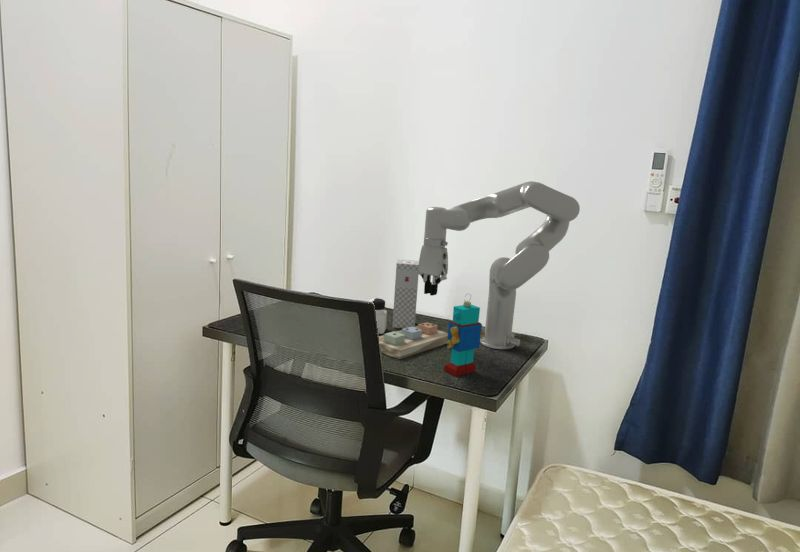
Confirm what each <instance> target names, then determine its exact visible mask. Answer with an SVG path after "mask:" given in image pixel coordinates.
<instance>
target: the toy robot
mask: <svg viewBox="0 0 800 552" xmlns="http://www.w3.org/2000/svg"><path fill="white" fill-rule="evenodd" d="M467 295H468V293H467V294H465V296H467ZM469 295H470V298H469V300H467V301H466V300H464V301H463V305H461V304H460V305H455V306H453V312H452V320H451V321H450V322H448V328H447V333H448V338H447V341H446V344H445V345H446V348H447V349H451V352H450V362H448V363H446V364H444V366H443V371H445V372H447V373H448V374H451V375H452V376H455V377H458V376H459V377H460V376H463V375H467V374H470V373H475V372H476V365H475V364H474V354H475V349H479V348H480V347H481V346H480V344H481V343H480V339H482V338H483V336H484V334H483V333H484V332H483V324H482V323H481V322H480V321H479V320H480V312H481V307H480V306H477V305H474V304H472V301H471V299H472V295H471V294H469Z"/></svg>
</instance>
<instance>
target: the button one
mask: <svg viewBox="0 0 800 552" xmlns="http://www.w3.org/2000/svg"><path fill="white" fill-rule="evenodd" d="M383 335H384V342H385V343H388V344H391V345H394V346H396V345H399V344H403V343H405V335H404V334H401V333H398V332H397V331H394V330H393V331H391V332H386V333H384V334H383Z"/></svg>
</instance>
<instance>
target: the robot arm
mask: <svg viewBox="0 0 800 552" xmlns="http://www.w3.org/2000/svg"><path fill="white" fill-rule="evenodd" d="M528 208H532V209H534V210H536V211H538V212H540V213H542V214H545V215H546V218H545V220H544V221H543V223H542V224H541V225H540V226H539V227H538V228H537V229H536V230H534V231H533V232H532V233H530V235H528V236H527V237H526V238H525V239H523V240H521V242H519V243H518V245H517V246H516V247H515V253H514V254H515V255H514V256H513V257H512V258H509V257H506V256H505V257H499V258H496V259H495V260H494V261H493V263H492V264H491V265H490V269H489V276H488V277H489V280H488V281H489V282H488V284H489V286H488V287H489V288H488V300H487V309H486V320H485V329H484V334H483V338H482V339H480V344H481V345H482V346H484V347H487V348H489V349H496V350H511V349H513V348H514V347H515V346H516V347H519V346H520V345H521V339H518V338H515V333H513V324H514V316H515V315H514V313H515V308H516V307H515V306H516V297H517V289H519V288H520V287H522V286H523V285H524V284H525V283H526V282H528V281H529V280H531V278H533V277H535V276H536V275H537V274H538V273H539V272H541V271H542V270H543V269H544V267H546V266H547V264H548V262H549V260H550V252H551V250H553V248H554V247H555V246H557V245H558V244H559V243H560V242H561V241H562V240H564V237H566V234H567V233H568V230H569V226H570V222H571V221H574V220H575V219H577V217H578V216H579V214H580V210H581V209H580V208H581V207H580V204H579V202H578V201H577V200H576V198H574V197H572V196H571V195H568V194H565V193H563V192H561V191H558V190H556V189H554V188H552V187H550V186H547V185H546V184H544V183H541V182H537V181H527V182H523V183H520V184H517V185H515V186H514V185H513V186H512V187H509V188H506V189H503V190H500V191H497V192H494V193H491V194H488V195H485V196H483V197H479V198H477V199H472V200H469V201H467V202H464V203H461V204H458V205H455V206H453V207H451V208H449V209H447V208H445V207H439V206H430V207H427V208H426V210H425V223H424V235H423V245H422V246H421V249H420V252H419V253H420V254H419V259H418V261H419V270H418V274H419V275H418V276H420V277H421V278H422V280H423V283H424V286H423V287H424V289H423V292H424V293H423V294H424V295H428V294H429V296H437V294H438V290H439V289H438V286H439V284H440V283H441V282H442V281H446V280H447V279H448V277H447V275H448V273H449V272H448V270H449V256H448V254H449V253H448V248H447V246H448V244H449V242H448V241H447V239H446V238H447V230H452V231H457V232H462V231H465V230H466V229H468V228H469V226H470V225H471V223H474V222H477V221H481V220H485V219H497V218H498V219H499V218H503V217H506V216H508V215H511V214H513V213H516V212H519V211H523V210H527V209H528ZM431 279H432V281H431Z"/></svg>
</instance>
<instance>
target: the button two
mask: <svg viewBox="0 0 800 552" xmlns="http://www.w3.org/2000/svg"><path fill="white" fill-rule="evenodd" d="M401 330H402V333H401V334H404V335H405V338H406V339H409V340H416V339H419V338H421V336H422V330H420V329H417V328H414V327H408V328H401Z"/></svg>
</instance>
